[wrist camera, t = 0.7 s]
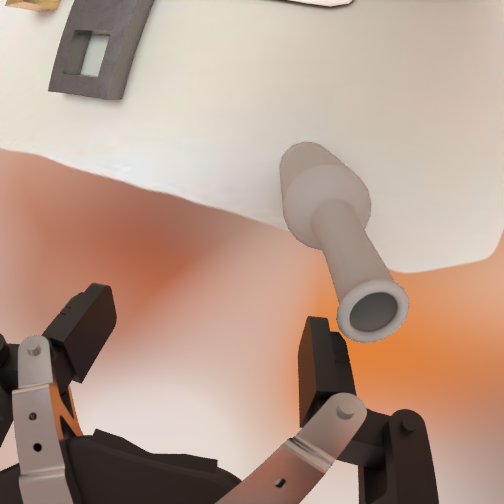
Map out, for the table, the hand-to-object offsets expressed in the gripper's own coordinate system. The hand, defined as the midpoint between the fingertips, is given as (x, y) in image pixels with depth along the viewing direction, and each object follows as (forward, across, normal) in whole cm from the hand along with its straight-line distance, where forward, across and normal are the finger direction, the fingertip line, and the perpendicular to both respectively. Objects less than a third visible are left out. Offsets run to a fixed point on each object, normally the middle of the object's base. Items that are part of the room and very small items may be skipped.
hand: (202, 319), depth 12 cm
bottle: (+27, -6, -1) cm, 28 cm away
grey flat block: (+27, +20, -20) cm, 39 cm away
